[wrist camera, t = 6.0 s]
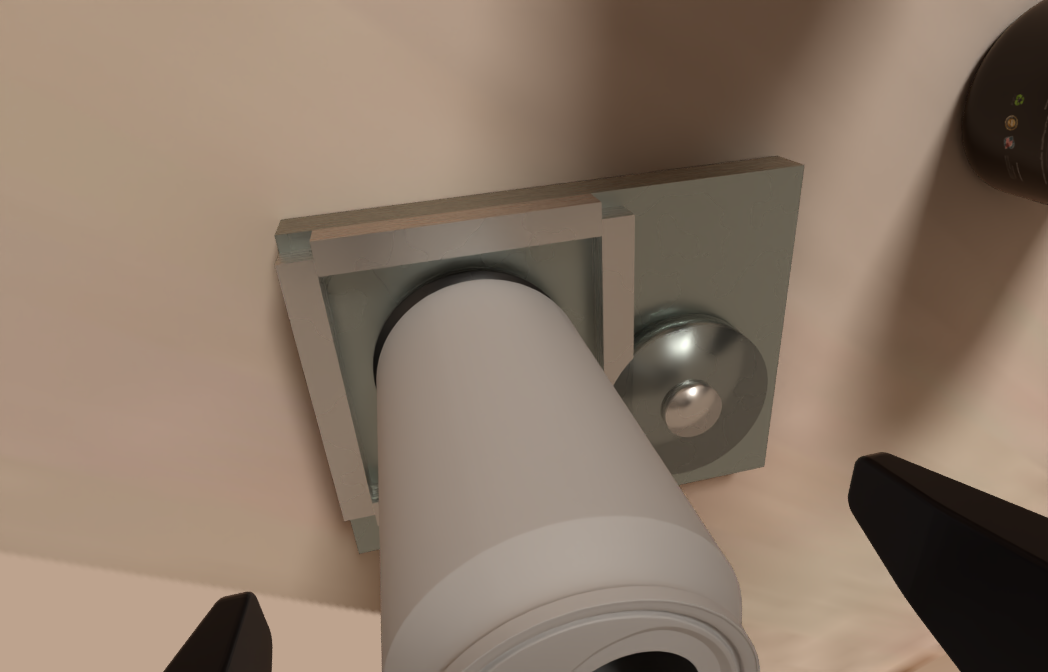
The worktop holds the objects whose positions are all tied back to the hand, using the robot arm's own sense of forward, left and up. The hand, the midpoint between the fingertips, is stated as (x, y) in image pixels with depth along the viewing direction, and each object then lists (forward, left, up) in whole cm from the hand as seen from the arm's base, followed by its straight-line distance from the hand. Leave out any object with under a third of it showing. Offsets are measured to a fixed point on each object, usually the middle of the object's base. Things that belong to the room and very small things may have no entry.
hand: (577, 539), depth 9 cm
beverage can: (0, +3, -11) cm, 12 cm away
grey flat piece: (-3, +4, -13) cm, 14 cm away
